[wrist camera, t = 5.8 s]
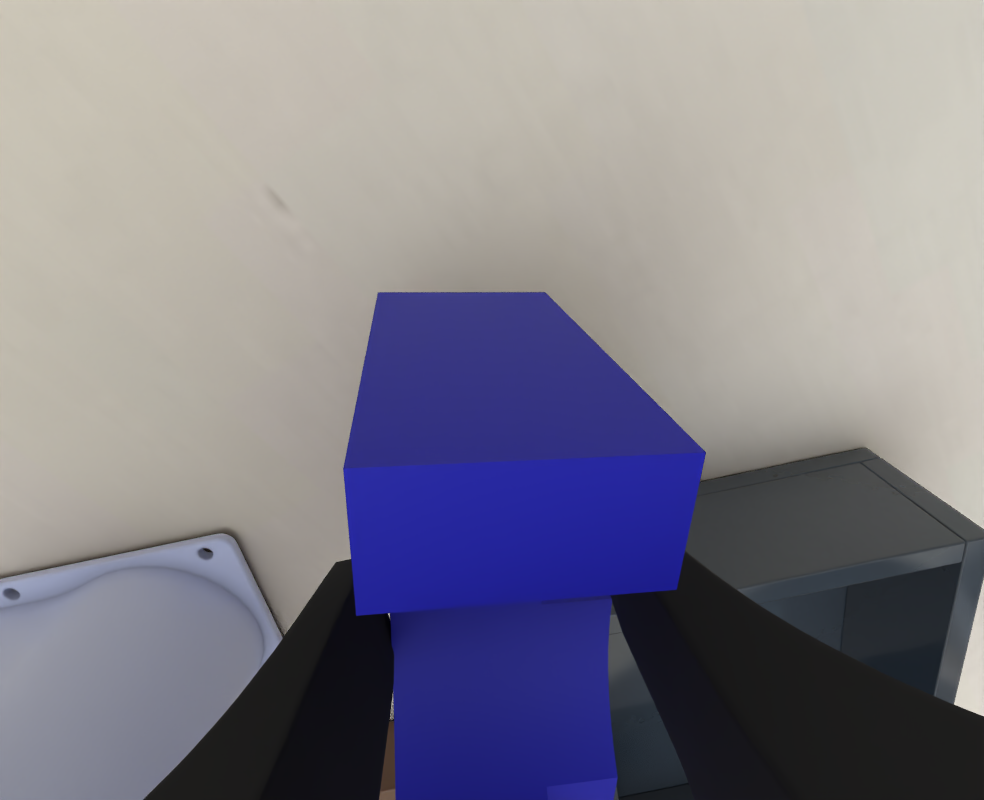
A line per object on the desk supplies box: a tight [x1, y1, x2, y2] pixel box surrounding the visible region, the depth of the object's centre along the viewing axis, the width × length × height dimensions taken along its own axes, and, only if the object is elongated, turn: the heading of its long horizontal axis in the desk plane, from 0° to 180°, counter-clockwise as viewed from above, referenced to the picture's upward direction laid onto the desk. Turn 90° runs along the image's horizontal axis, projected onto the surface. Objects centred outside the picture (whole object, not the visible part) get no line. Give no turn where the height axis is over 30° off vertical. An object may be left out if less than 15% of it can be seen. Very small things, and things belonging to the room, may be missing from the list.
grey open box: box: [608, 448, 984, 800], centre depth 22 cm, size 13×18×5 cm
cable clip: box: [343, 292, 706, 800], centre depth 10 cm, size 12×4×6 cm, turn 178°
